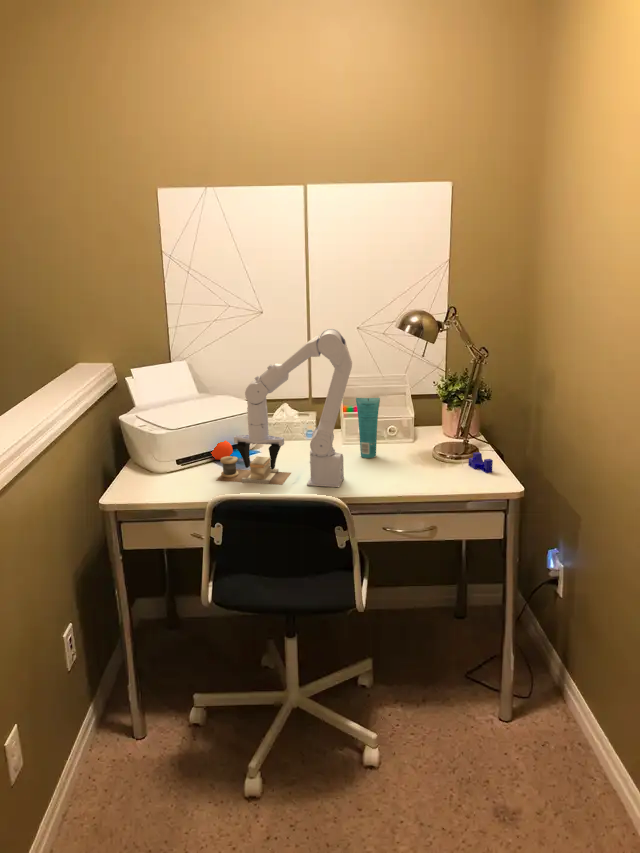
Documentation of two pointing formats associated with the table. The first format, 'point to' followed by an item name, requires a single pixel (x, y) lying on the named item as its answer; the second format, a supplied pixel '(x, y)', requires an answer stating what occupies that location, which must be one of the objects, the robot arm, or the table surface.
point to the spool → (229, 466)
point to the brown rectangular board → (245, 476)
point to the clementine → (222, 450)
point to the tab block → (260, 467)
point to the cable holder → (480, 463)
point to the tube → (368, 425)
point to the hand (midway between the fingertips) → (260, 467)
